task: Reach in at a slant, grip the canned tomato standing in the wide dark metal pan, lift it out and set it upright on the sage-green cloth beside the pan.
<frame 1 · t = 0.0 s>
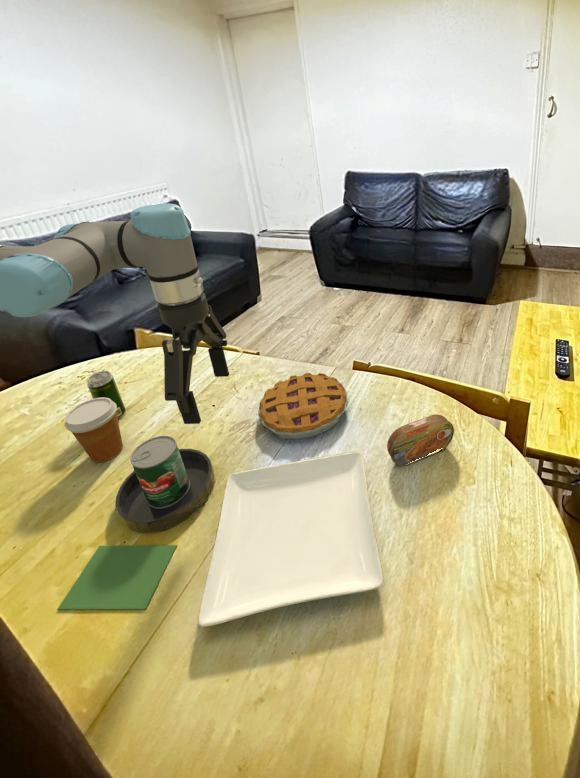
hand: (208, 397, 79), 20 cm above the table, tool pointing down, fingers open, 13 cm apart
tin: (420, 454, 89), on the table
pie: (305, 412, 103), on the table
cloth: (121, 576, 68), on the table
square plate: (297, 534, 74), on the table
disposable coffee cup: (107, 452, 94), on the table
pan: (169, 492, 83), on the table
beer can: (114, 416, 105), on the table
canned tomato: (169, 492, 83), resting on pan
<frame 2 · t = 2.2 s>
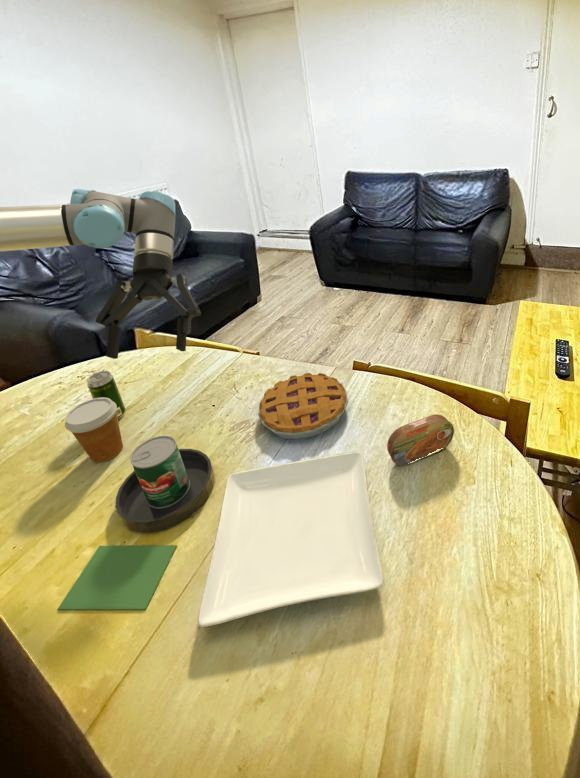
hand: (146, 353, 83), 25 cm above the table, tool tilted 45°, fingers open, 13 cm apart
nothing on the table moved.
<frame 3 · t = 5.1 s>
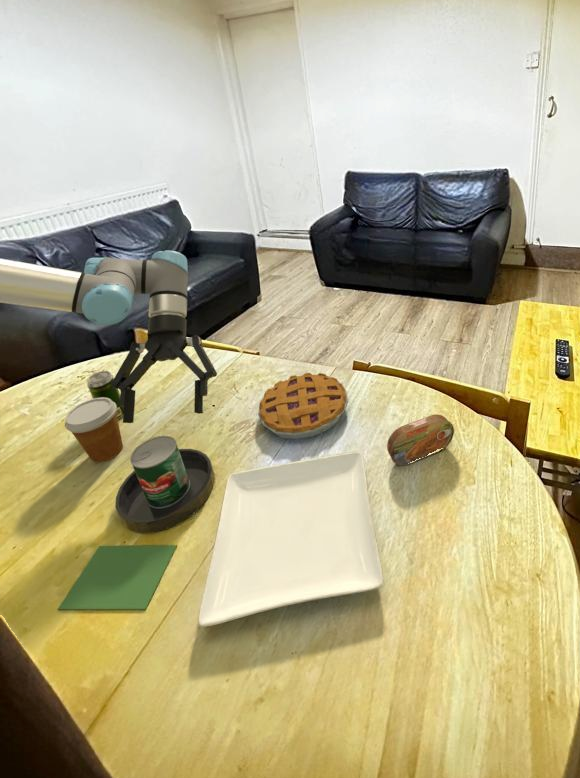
hand: (163, 418, 84), 13 cm above the table, tool tilted 45°, fingers open, 13 cm apart
nothing on the table moved.
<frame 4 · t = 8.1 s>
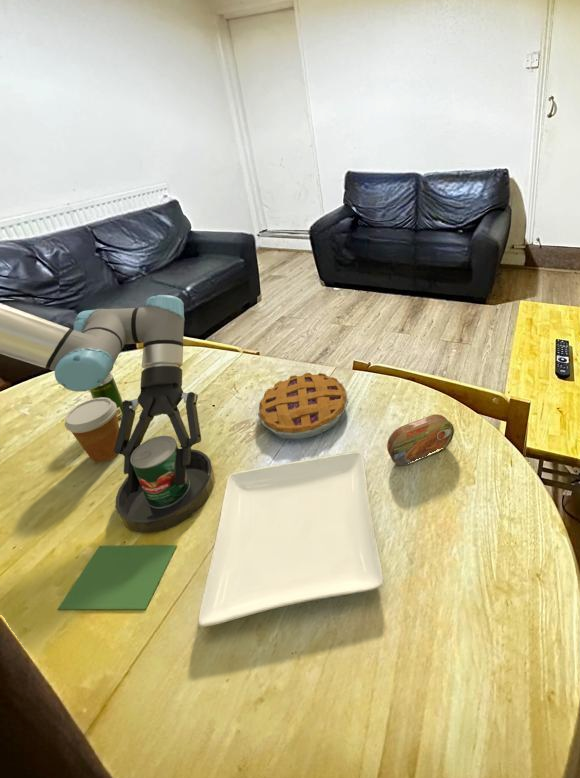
hand: (156, 488, 78), 5 cm above the table, tool tilted 45°, fingers closed on canned tomato, 8 cm apart
canned tomato: (169, 492, 83), resting on pan, touching gripper
everything else where it was.
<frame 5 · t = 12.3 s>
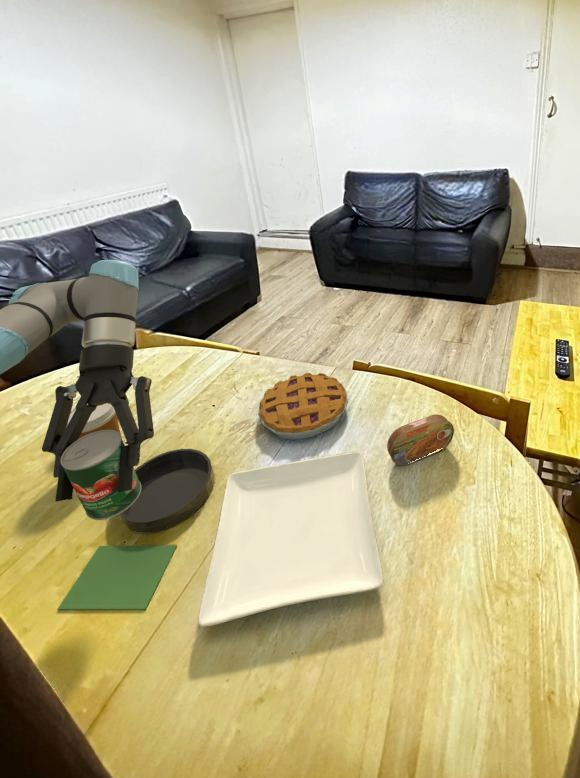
hand: (94, 495, 62), 17 cm above the table, tool tilted 45°, fingers closed on canned tomato, 8 cm apart
canned tomato: (114, 499, 67), point 12 cm above the table, touching gripper
everything else where it was.
when the fingers open (5 cm above the table, at t = 16.6 s): canned tomato stays where it is, resting on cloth.
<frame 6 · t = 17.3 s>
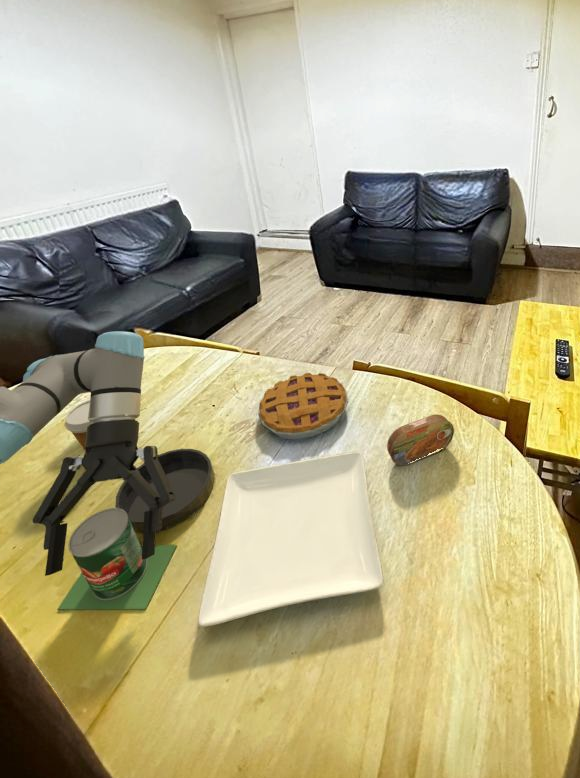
hand: (101, 565, 63), 7 cm above the table, tool tilted 45°, fingers open, 13 cm apart
canned tomato: (121, 575, 68), resting on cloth
everything else where it was.
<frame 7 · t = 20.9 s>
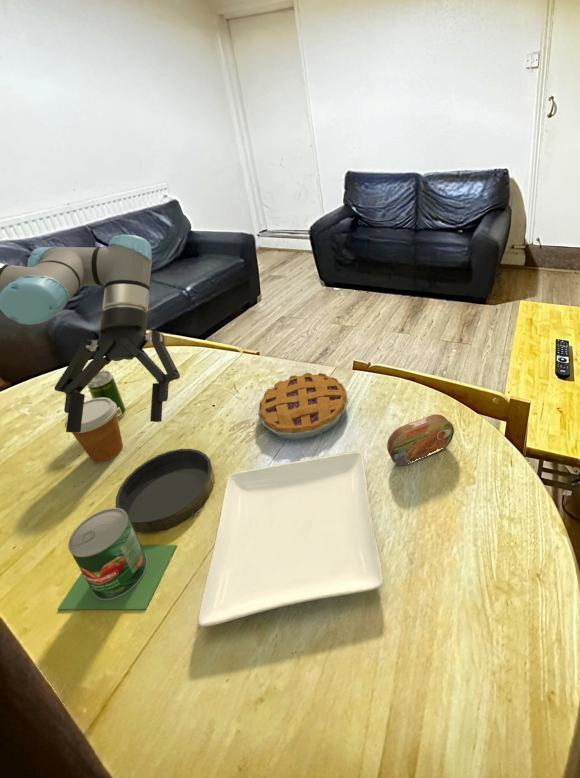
hand: (115, 427, 72), 20 cm above the table, tool tilted 45°, fingers open, 13 cm apart
nothing on the table moved.
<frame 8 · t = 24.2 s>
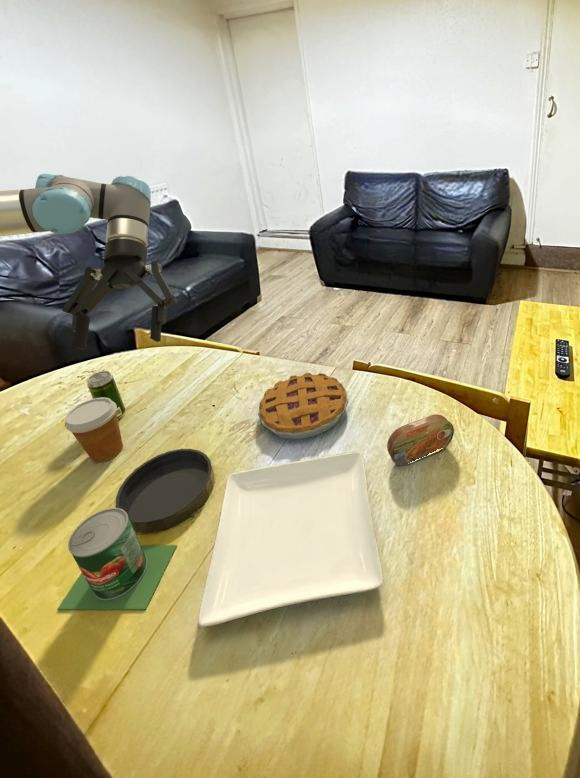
hand: (118, 344, 79), 30 cm above the table, tool tilted 45°, fingers open, 13 cm apart
nothing on the table moved.
at the end: canned tomato inside the target area (0.0 cm from its centre), resting on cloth; canned tomato tilted 0°; the gripper is holding nothing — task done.
